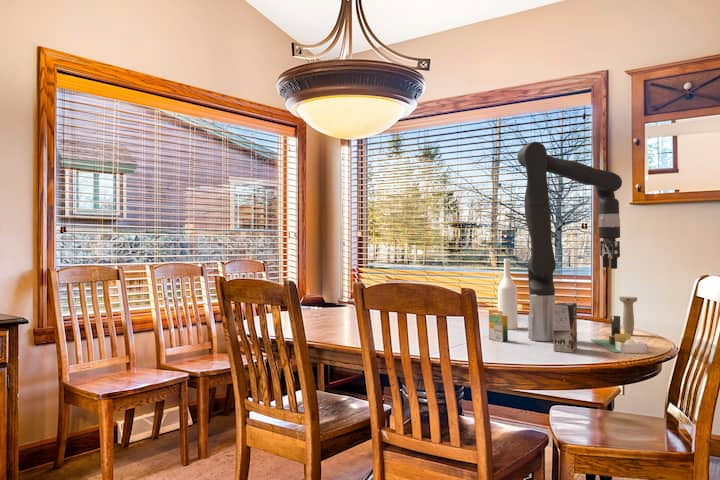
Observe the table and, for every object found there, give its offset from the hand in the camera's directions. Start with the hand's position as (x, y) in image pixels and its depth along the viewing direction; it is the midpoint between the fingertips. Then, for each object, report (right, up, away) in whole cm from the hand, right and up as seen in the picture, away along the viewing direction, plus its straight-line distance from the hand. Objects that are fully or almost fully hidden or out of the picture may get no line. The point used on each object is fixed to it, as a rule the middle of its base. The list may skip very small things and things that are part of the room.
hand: (609, 268), depth 208 cm
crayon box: (-43, -28, -1) cm, 51 cm away
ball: (-4, -25, -23) cm, 34 cm away
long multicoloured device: (-3, -26, -13) cm, 30 cm away
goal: (-4, -27, -24) cm, 36 cm away
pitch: (-4, -27, -15) cm, 31 cm away
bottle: (-32, -28, +26) cm, 50 cm away
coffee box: (-24, -28, -20) cm, 42 cm away
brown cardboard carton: (-3, -27, -13) cm, 30 cm away
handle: (+11, -27, +7) cm, 30 cm away
